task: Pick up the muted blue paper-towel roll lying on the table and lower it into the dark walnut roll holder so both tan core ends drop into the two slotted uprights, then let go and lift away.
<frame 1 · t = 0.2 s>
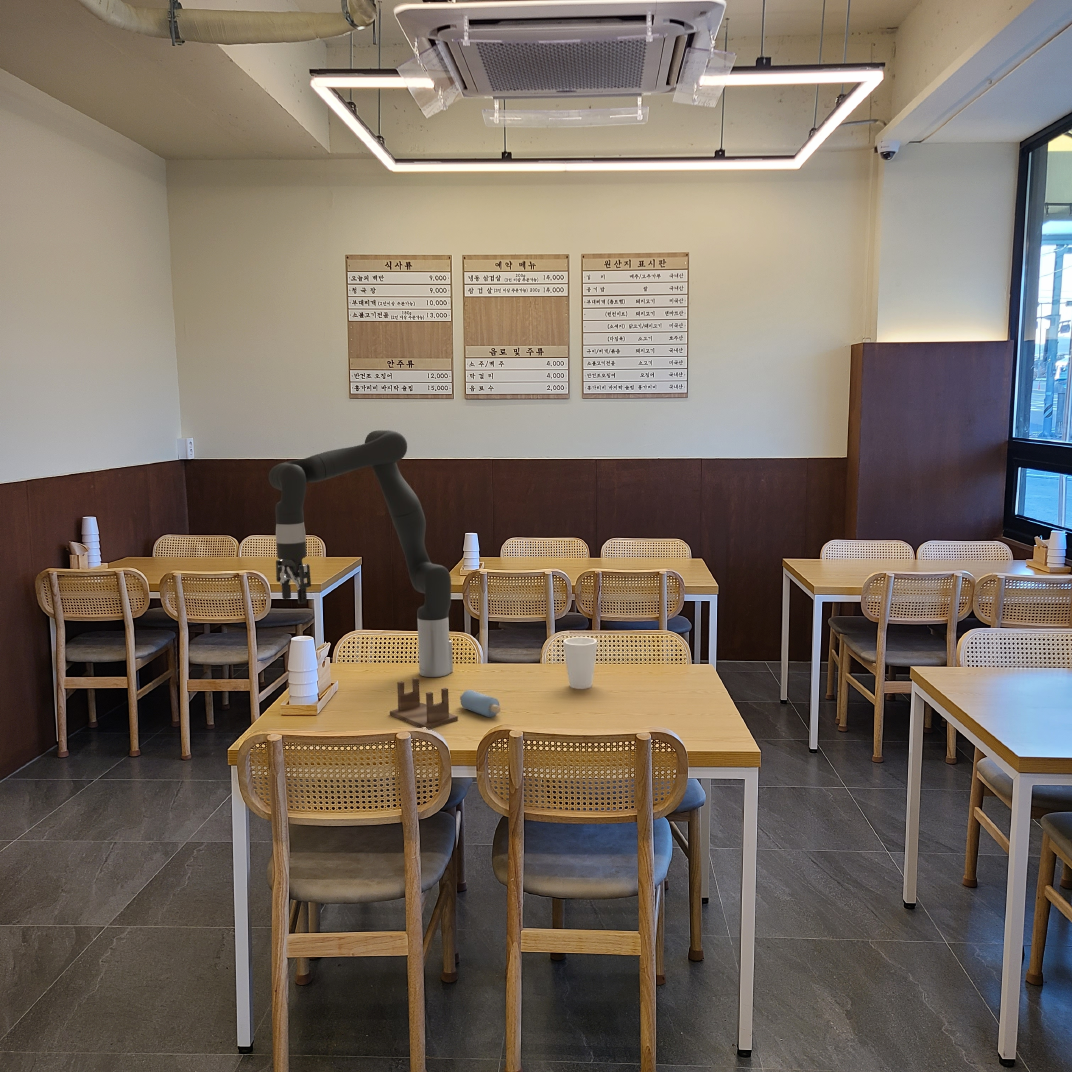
hand: (294, 601, 246), 29 cm above the table, tool pointing down, fingers open, 8 cm apart
foam cup: (580, 686, 265), on the table
roll holder: (423, 717, 240), on the table
towel roll: (480, 712, 243), on the table
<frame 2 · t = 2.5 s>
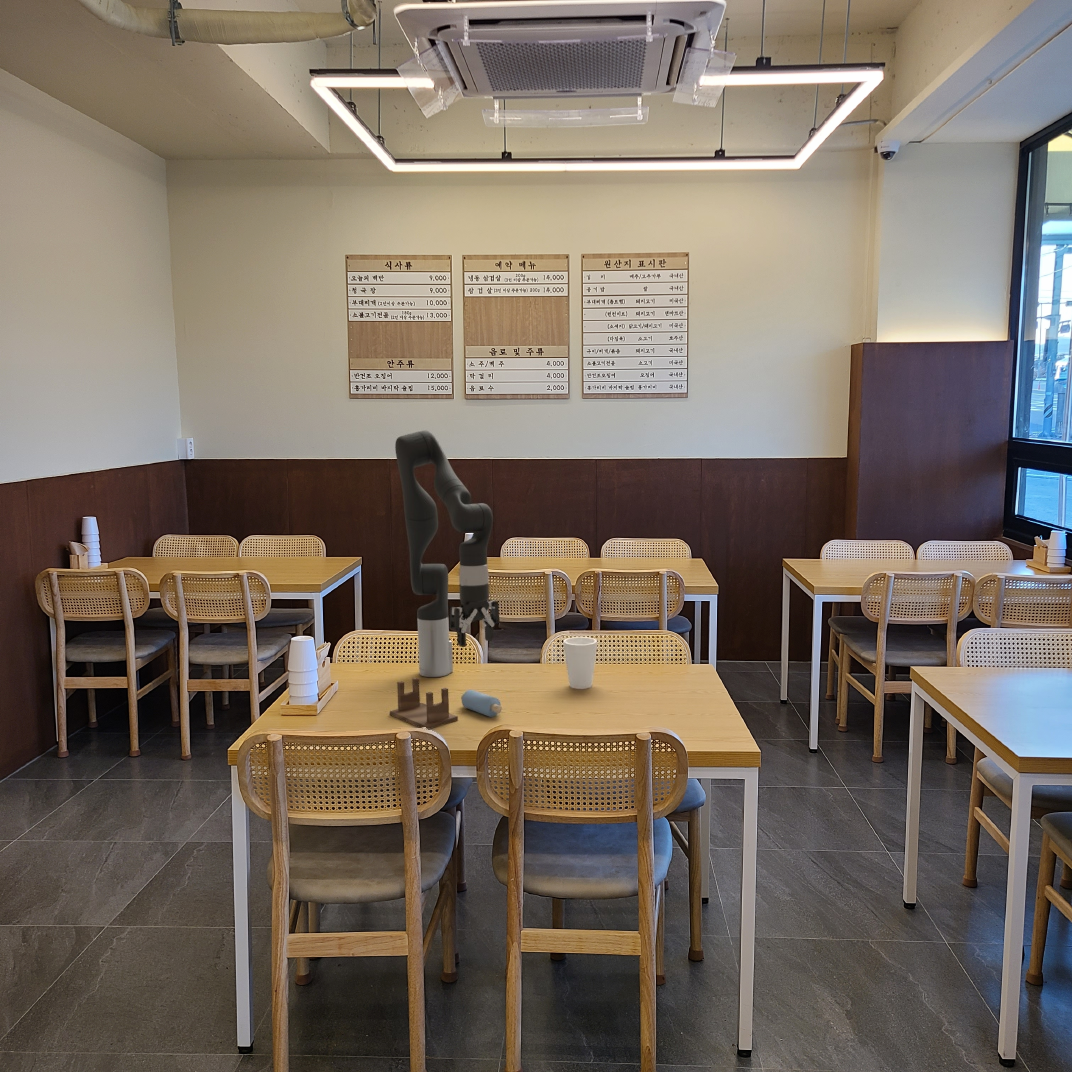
hand: (475, 643, 241), 18 cm above the table, tool pointing down, fingers open, 8 cm apart
towel roll: (480, 712, 243), on the table, tilted 9°
everything else where it was.
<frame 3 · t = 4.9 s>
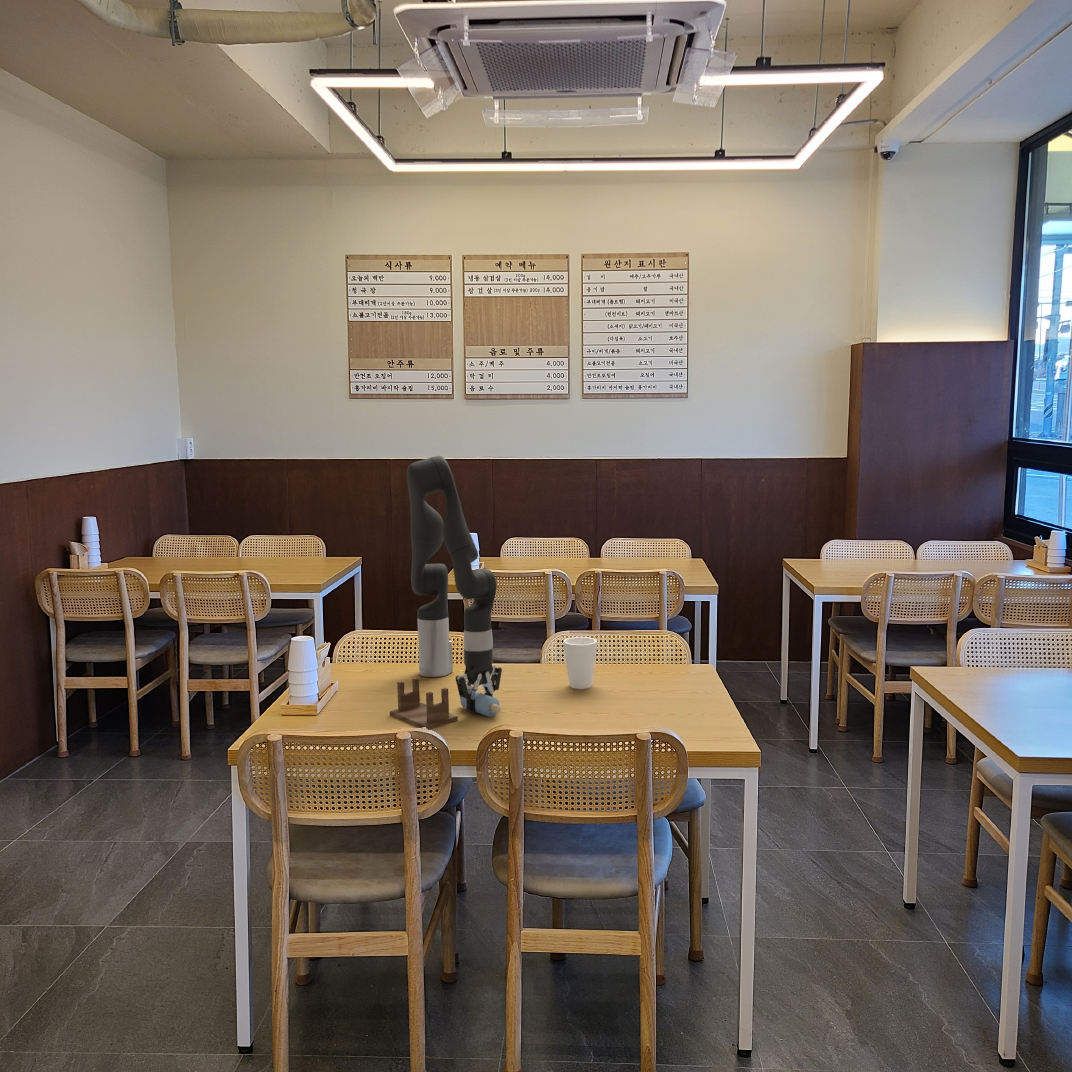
hand: (479, 709, 243), 1 cm above the table, tool pointing down, fingers closed on towel roll, 5 cm apart
towel roll: (479, 712, 243), on the table, touching gripper
everything else where it was.
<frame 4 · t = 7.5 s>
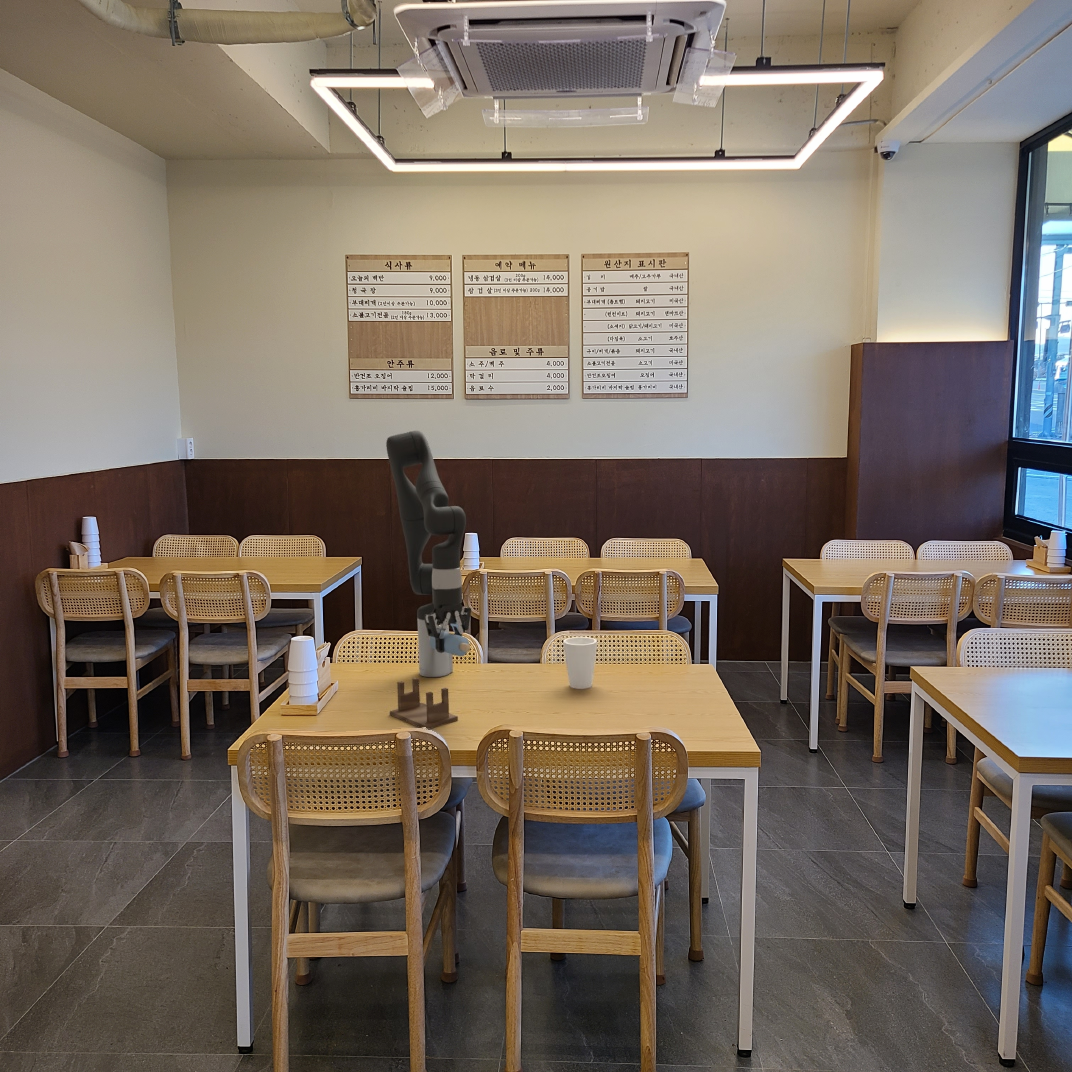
hand: (449, 649, 239), 17 cm above the table, tool pointing down, fingers closed on towel roll, 5 cm apart
towel roll: (449, 652, 239), point 17 cm above the table, touching gripper
everything else where it was.
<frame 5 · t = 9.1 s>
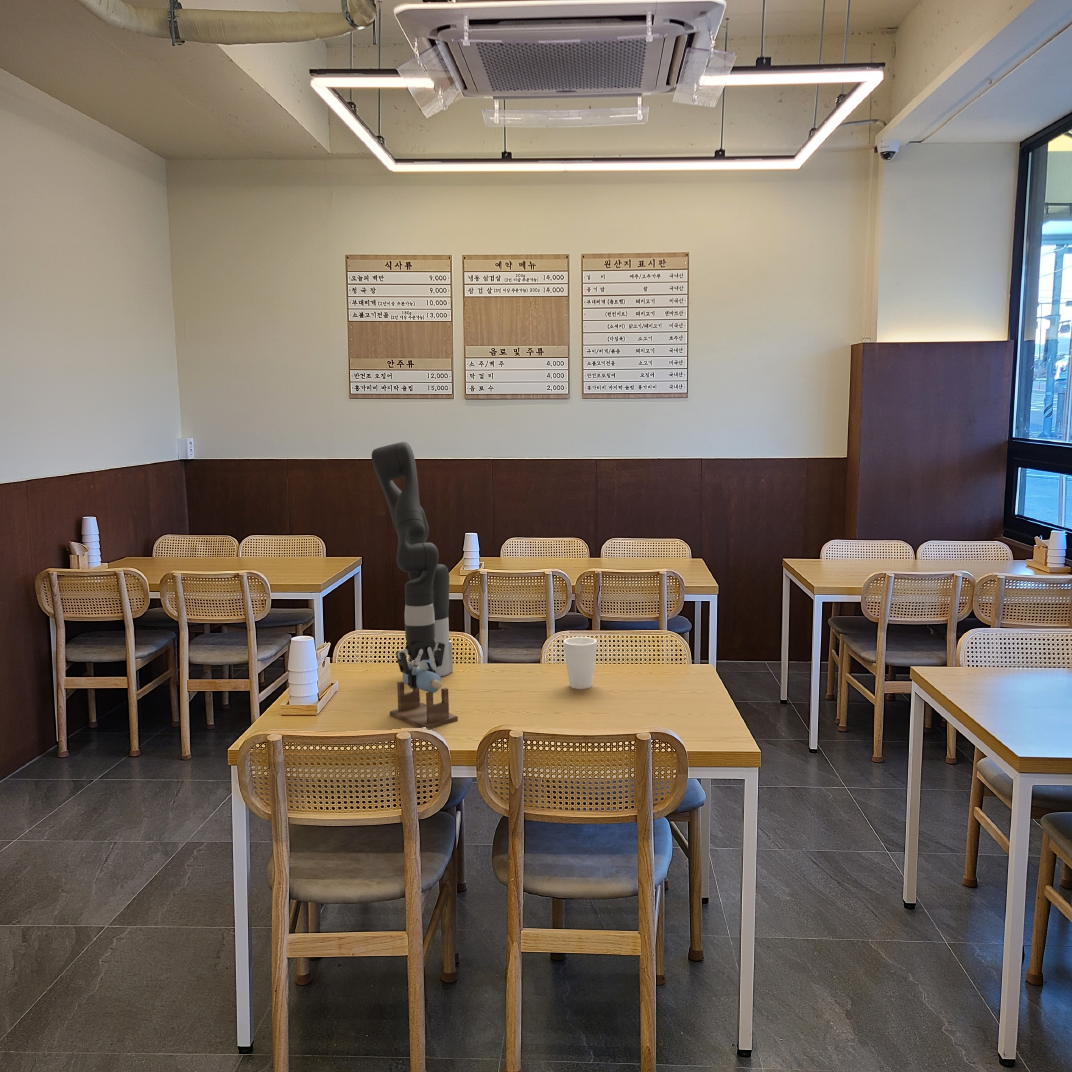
hand: (422, 685, 239), 8 cm above the table, tool pointing down, fingers closed on towel roll, 5 cm apart
towel roll: (422, 688, 239), point 8 cm above the table, touching gripper
everything else where it was.
when the fingers open (5 cm above the table, at t = 10.2 s): towel roll stays where it is, resting on roll holder.
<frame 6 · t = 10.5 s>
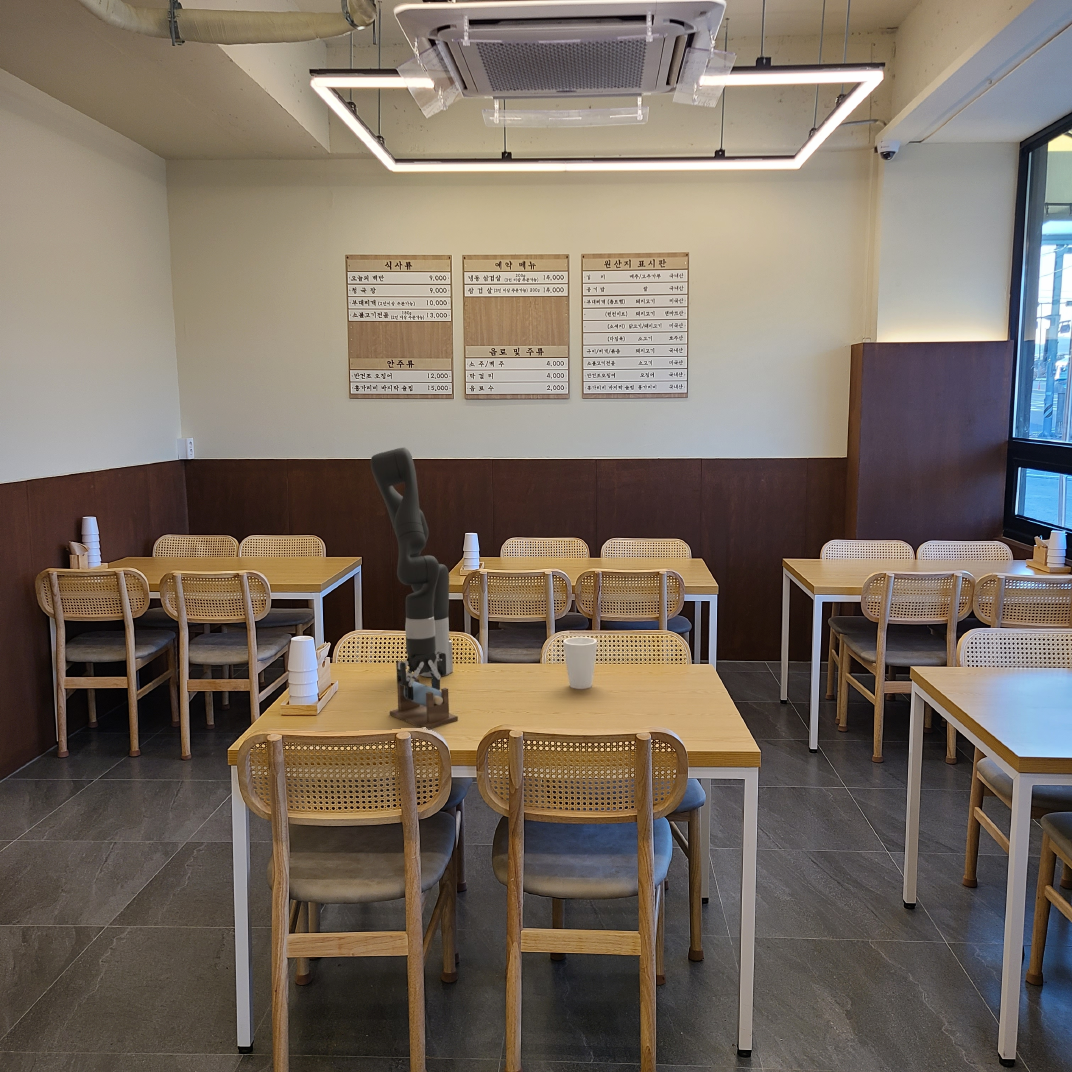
hand: (422, 696, 239), 6 cm above the table, tool pointing down, fingers open, 7 cm apart
towel roll: (422, 704, 239), point 4 cm above the table, touching roll holder
everything else where it was.
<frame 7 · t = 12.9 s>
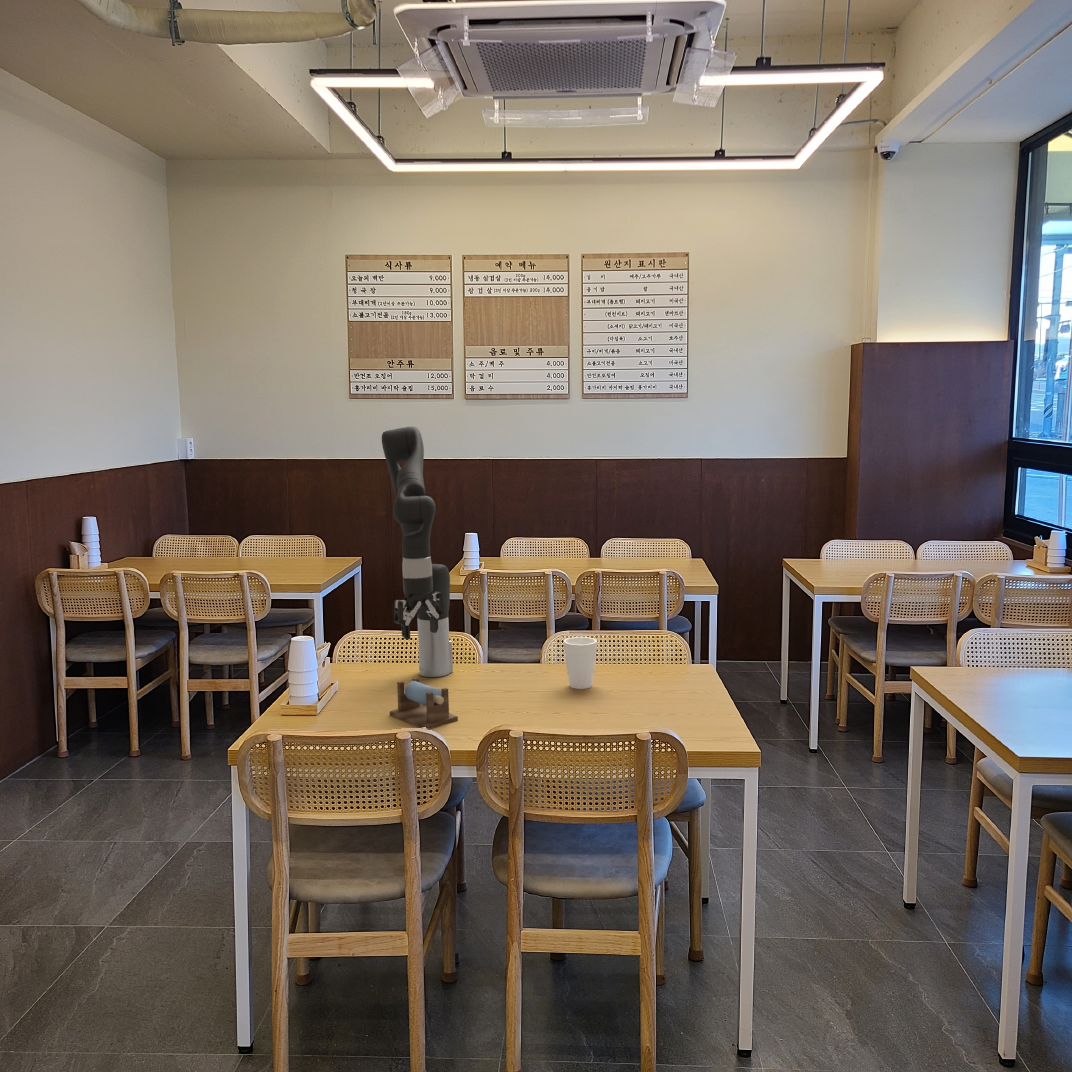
hand: (420, 635, 241), 21 cm above the table, tool pointing down, fingers open, 8 cm apart
towel roll: (421, 704, 239), point 4 cm above the table, tilted 23°, touching roll holder
everything else where it was.
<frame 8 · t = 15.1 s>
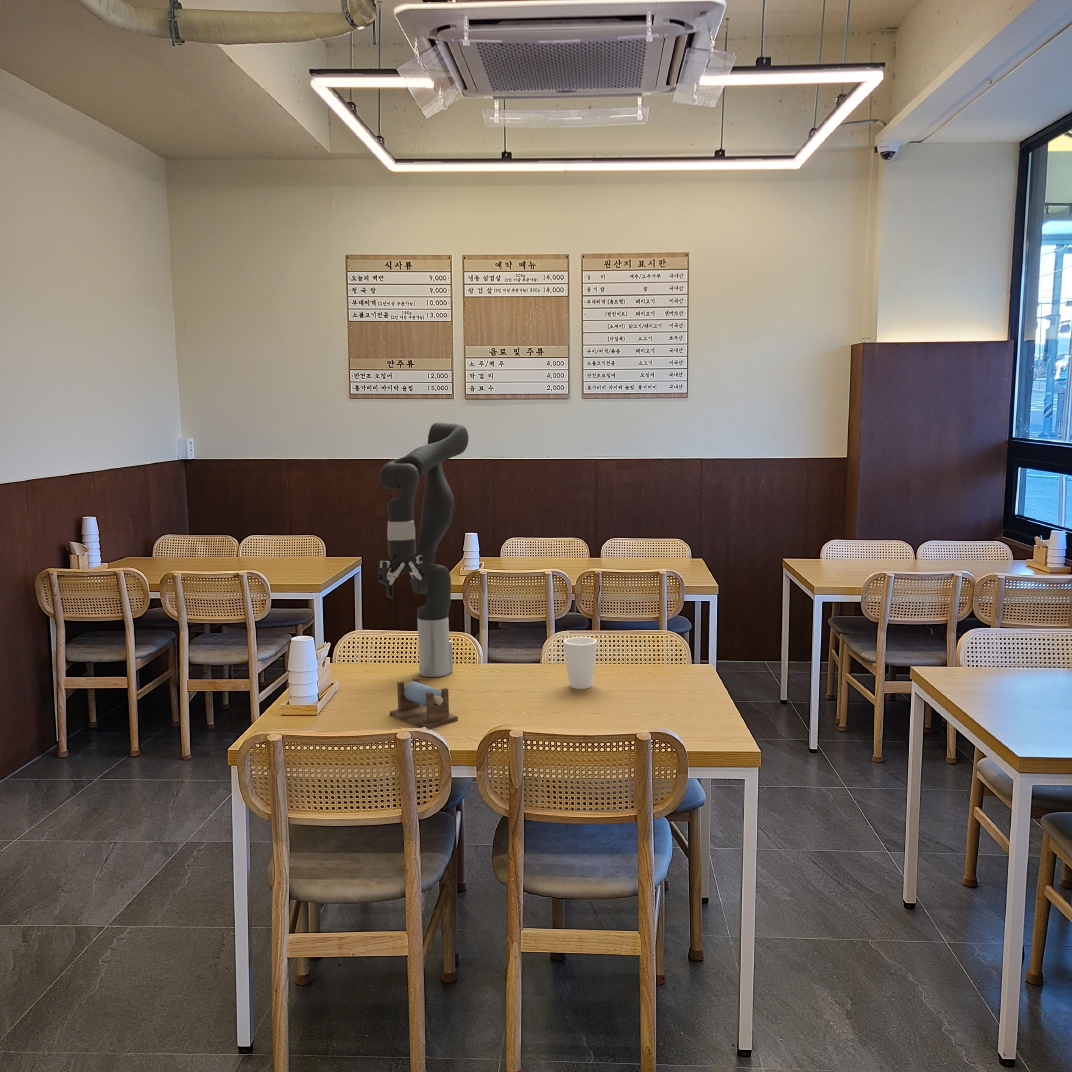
hand: (403, 595, 255), 28 cm above the table, tool pointing down, fingers open, 8 cm apart
towel roll: (422, 704, 239), point 4 cm above the table, tilted 9°, touching roll holder
everything else where it was.
at the end: towel roll 0.2 cm off-centre on the roll holder, point 3.5 cm above the roll holder's base; towel roll touching roll holder; the gripper is holding nothing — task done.
